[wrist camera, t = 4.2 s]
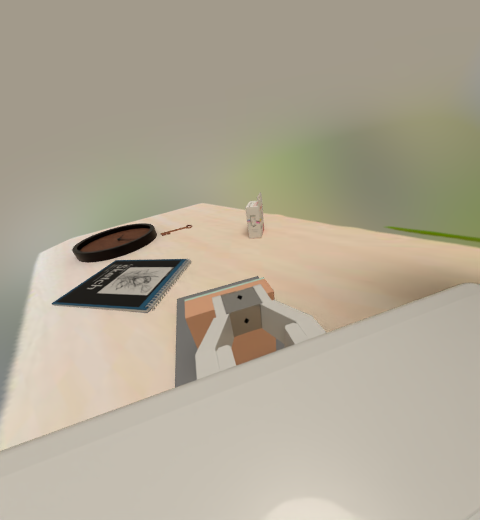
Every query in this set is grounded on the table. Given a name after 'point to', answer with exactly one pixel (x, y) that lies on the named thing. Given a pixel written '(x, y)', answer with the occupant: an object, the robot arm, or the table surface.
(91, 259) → the wall clock
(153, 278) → the sketchbook
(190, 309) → the tile
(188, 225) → the key
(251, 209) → the ink cartridge box
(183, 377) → the mat
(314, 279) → the table surface
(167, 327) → the table surface
